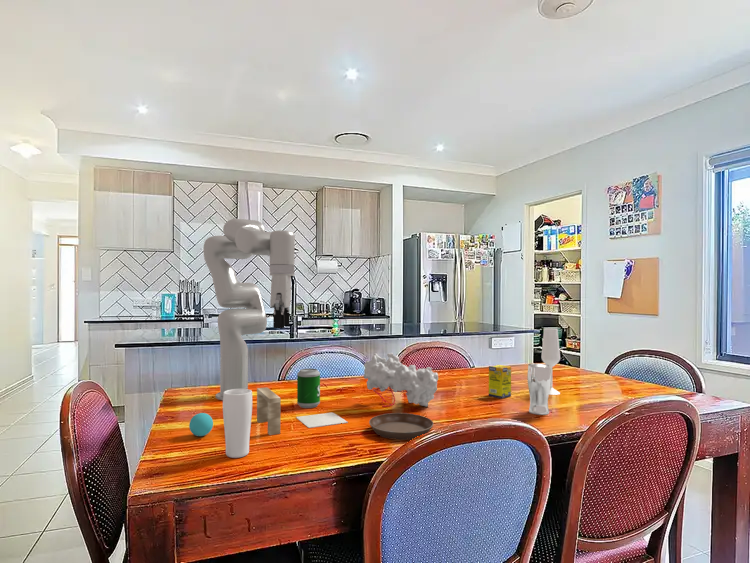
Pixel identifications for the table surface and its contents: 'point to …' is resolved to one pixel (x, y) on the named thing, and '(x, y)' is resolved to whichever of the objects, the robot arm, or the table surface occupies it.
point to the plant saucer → (400, 425)
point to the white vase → (539, 388)
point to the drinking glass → (237, 421)
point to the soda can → (308, 388)
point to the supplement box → (500, 381)
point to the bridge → (269, 409)
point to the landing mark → (321, 420)
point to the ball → (201, 424)
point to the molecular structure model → (400, 379)
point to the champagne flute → (551, 352)
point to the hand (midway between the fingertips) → (281, 326)
